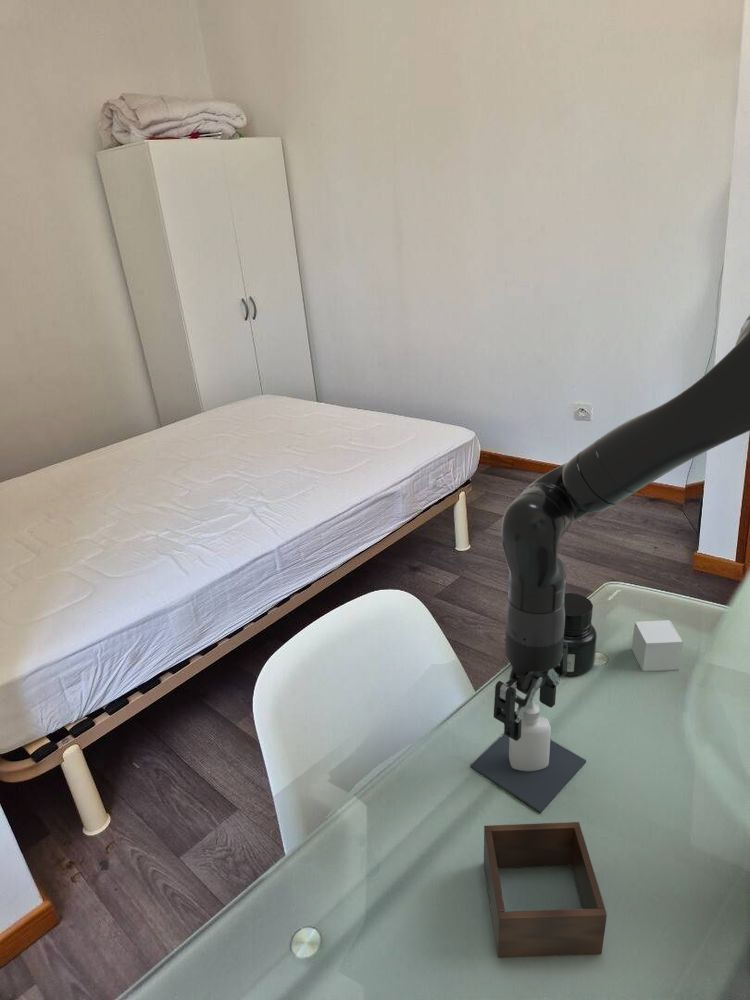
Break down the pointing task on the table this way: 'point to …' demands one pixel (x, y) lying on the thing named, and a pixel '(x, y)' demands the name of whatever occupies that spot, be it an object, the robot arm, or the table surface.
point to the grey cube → (656, 645)
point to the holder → (544, 927)
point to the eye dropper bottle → (531, 742)
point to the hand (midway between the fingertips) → (530, 719)
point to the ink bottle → (579, 634)
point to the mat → (529, 773)
